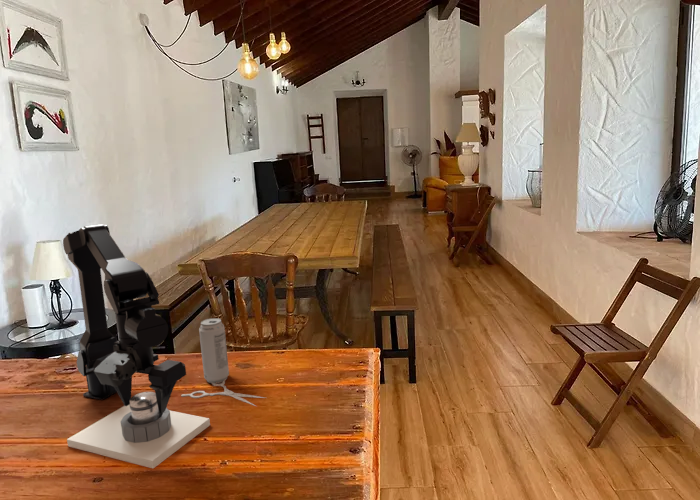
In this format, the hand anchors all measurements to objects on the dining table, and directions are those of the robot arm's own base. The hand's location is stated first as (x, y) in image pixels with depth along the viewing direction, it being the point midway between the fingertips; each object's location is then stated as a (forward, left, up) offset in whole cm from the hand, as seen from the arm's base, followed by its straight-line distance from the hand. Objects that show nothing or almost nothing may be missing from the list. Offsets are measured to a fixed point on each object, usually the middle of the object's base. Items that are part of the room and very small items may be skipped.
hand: (144, 408), depth 106 cm
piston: (0, 0, -5) cm, 5 cm away
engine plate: (-2, 0, -6) cm, 7 cm away
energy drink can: (-4, +27, -6) cm, 28 cm away
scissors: (+4, +21, -7) cm, 22 cm away
